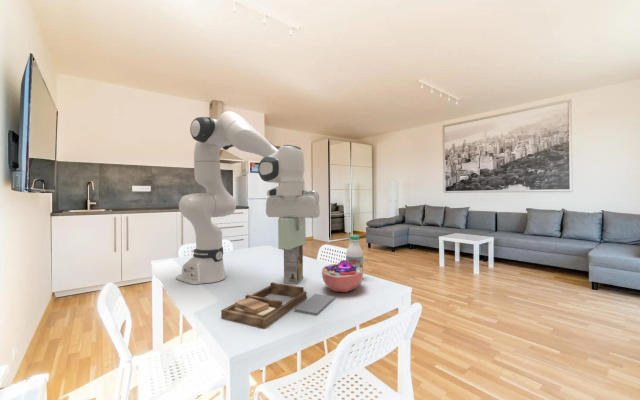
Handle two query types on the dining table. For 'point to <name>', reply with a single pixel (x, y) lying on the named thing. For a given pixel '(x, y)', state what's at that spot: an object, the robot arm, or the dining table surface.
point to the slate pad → (315, 304)
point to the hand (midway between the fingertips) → (292, 230)
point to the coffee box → (293, 265)
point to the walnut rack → (275, 315)
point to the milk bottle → (355, 252)
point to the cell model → (342, 276)
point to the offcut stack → (253, 307)
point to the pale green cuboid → (290, 233)
